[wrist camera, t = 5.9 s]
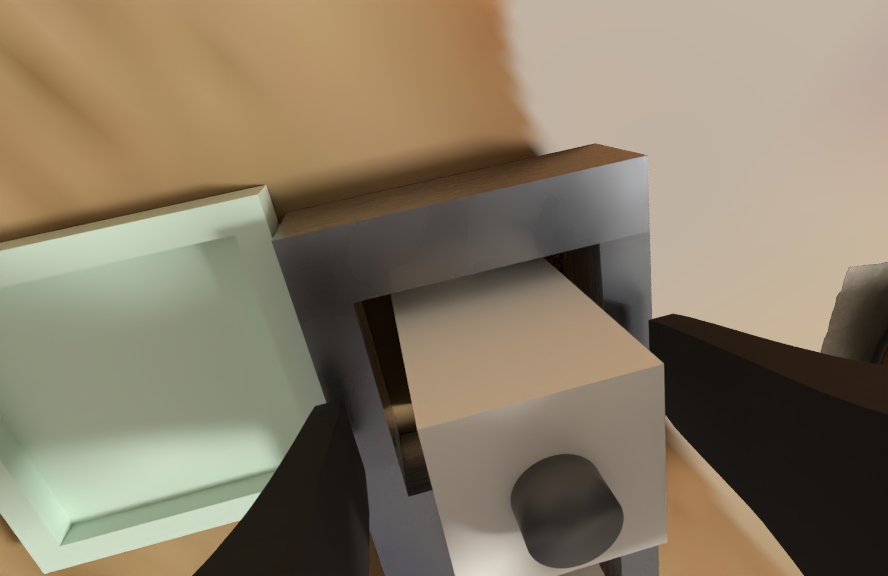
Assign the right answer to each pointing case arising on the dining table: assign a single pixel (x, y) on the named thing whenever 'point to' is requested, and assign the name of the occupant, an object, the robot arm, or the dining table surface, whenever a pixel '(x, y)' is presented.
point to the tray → (146, 376)
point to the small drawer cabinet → (447, 257)
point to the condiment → (861, 316)
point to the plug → (534, 422)
